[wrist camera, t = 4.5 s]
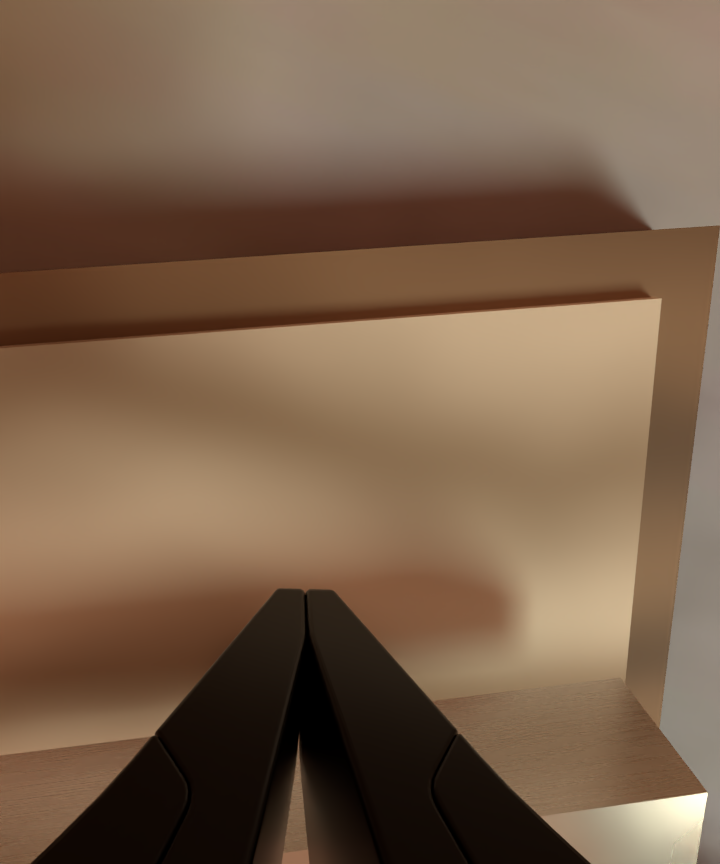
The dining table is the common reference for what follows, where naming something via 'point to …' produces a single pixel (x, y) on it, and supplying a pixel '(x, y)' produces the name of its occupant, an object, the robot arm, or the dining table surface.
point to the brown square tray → (346, 466)
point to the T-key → (490, 736)
